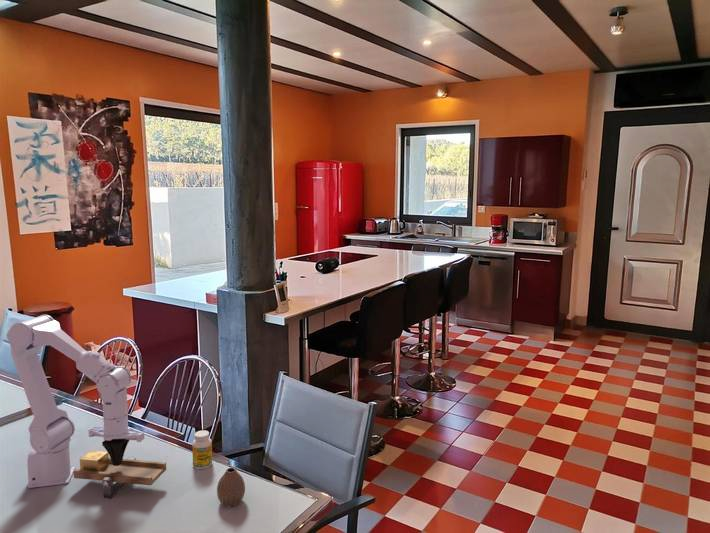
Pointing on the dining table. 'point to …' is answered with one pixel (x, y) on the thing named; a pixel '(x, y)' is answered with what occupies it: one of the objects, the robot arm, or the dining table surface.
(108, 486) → the stand
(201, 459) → the supplement bottle
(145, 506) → the dining table surface
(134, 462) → the beam
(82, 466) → the block
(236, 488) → the vase
